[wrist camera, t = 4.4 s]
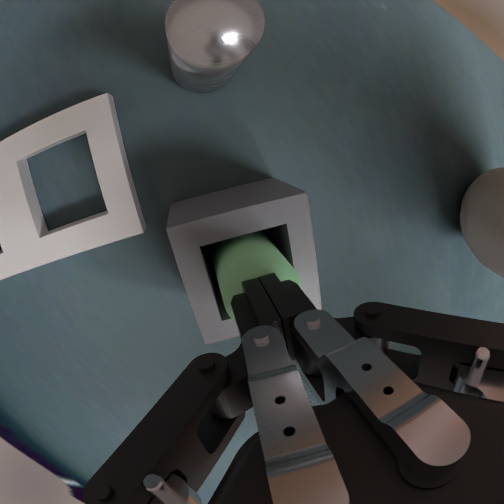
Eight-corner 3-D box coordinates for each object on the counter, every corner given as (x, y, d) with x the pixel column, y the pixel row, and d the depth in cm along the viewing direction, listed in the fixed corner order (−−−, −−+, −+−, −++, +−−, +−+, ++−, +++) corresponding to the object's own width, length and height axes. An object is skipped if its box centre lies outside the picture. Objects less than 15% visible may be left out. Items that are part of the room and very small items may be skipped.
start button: (262, 215, 19) (296, 248, 13) (272, 267, 20) (305, 315, 15) (204, 230, 18) (214, 271, 13) (218, 282, 20) (234, 337, 14)
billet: (227, 33, 16) (254, -22, 9) (239, 86, 18) (274, 55, 10) (166, 45, 16) (158, -8, 8) (177, 99, 17) (174, 72, 10)
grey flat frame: (113, 96, 16) (107, 92, 15) (146, 226, 20) (143, 232, 18) (-64, 190, 14) (-75, 194, 12) (-31, 287, 17) (-40, 295, 16)
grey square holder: (273, 177, 20) (307, 192, 15) (289, 269, 23) (322, 310, 18) (170, 203, 20) (166, 228, 14) (198, 295, 22) (205, 345, 17)
